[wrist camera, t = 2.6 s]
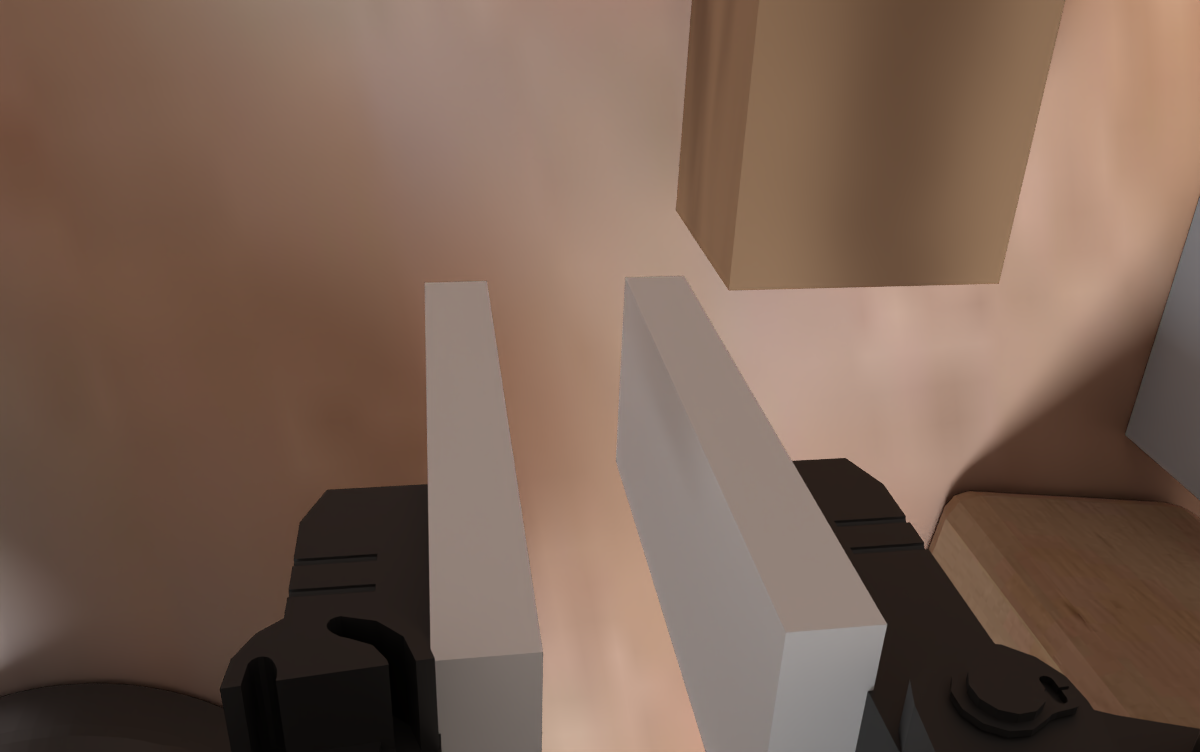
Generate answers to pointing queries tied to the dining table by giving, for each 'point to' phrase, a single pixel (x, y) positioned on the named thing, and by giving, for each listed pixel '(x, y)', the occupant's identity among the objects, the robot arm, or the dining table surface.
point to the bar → (1174, 377)
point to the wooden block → (1086, 592)
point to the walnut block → (860, 137)
